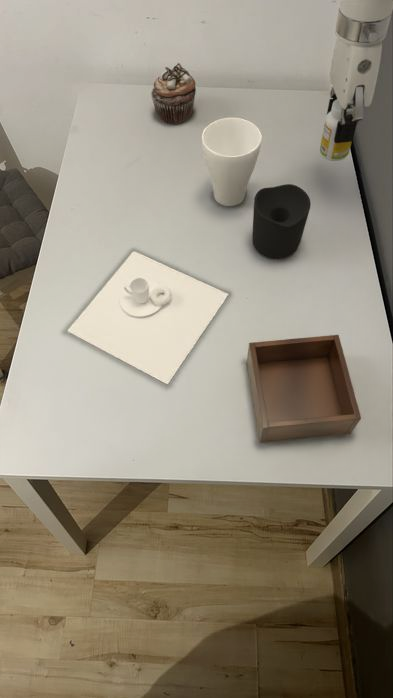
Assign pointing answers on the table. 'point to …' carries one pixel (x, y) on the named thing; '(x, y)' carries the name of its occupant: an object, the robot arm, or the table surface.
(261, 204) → the pen holder
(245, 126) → the cup
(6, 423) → the table surface
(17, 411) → the table surface
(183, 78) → the cupcake
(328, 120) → the supplement bottle
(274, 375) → the holder
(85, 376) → the table surface
